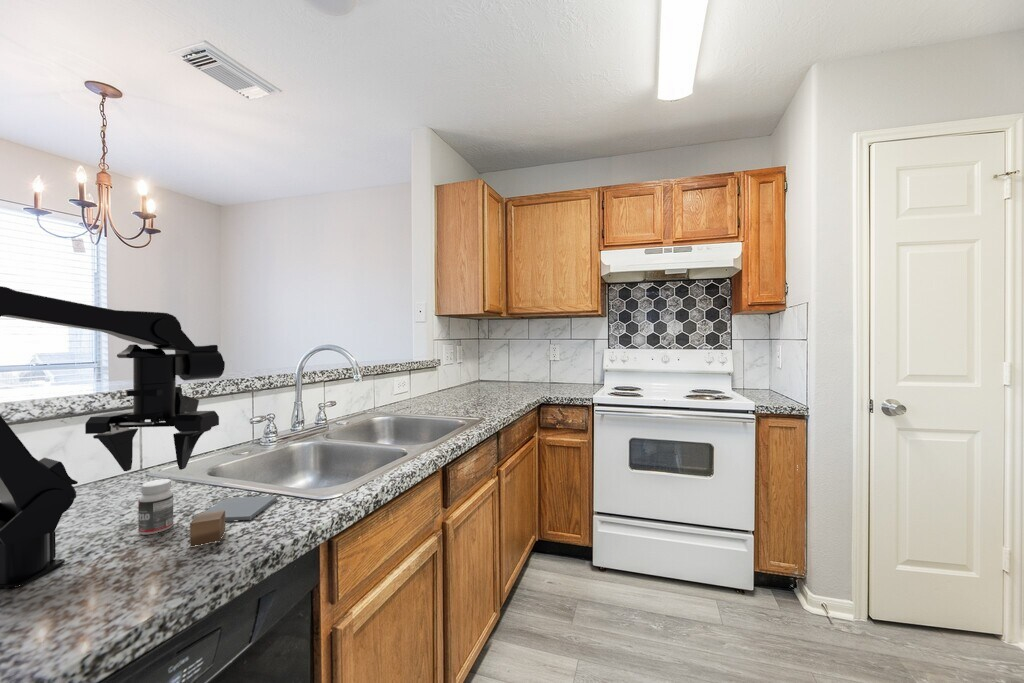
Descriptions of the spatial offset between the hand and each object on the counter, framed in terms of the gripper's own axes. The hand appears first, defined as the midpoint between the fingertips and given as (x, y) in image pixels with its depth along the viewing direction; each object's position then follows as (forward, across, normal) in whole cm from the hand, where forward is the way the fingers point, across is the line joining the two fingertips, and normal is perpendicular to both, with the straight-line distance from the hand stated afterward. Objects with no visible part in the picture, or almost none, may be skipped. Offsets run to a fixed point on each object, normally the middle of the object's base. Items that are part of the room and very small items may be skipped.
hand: (155, 469), depth 73 cm
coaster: (+11, -10, -7) cm, 16 cm away
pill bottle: (+11, 0, 0) cm, 11 cm away
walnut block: (+11, -12, +5) cm, 17 cm away
